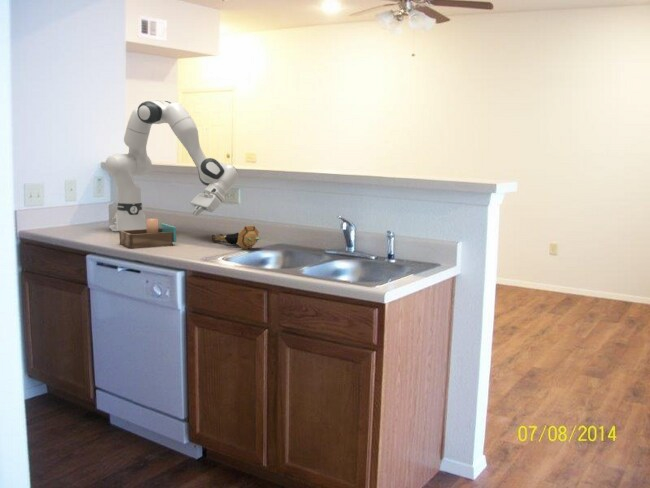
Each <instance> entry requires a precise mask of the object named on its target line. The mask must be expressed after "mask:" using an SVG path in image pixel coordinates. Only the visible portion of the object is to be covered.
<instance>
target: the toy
mask: <svg viewBox="0 0 650 488" xmlns="http://www.w3.org/2000/svg"><path fill="white" fill-rule="evenodd" d="M259 233H260V232H259V230H258V229H257V227H255V225H254V224H253V225H245V226H244V227H243V228H242V229H241V230H240V231H239V232H234V233H228V234H226V235H224V234H222V233H220V234H219V236H216V235H215V234H212V235H211V241H212V242H213V243H222V242H226V243H228V244H230V245H236V244H237V245H238V246H239V248H241V249H242V250H247V249H248V248H249V249H252V248H253V247H254V246H255V245H256V243H258V242H259V240H260V237H259ZM223 235H224V236H223Z"/></svg>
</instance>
